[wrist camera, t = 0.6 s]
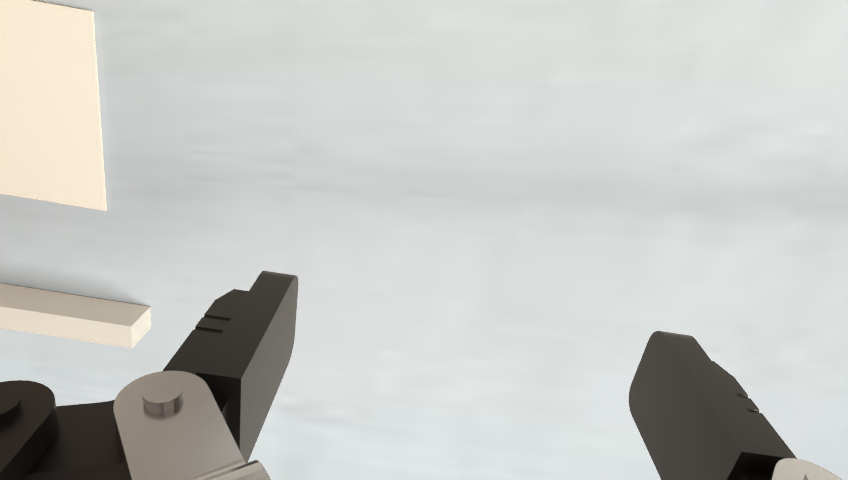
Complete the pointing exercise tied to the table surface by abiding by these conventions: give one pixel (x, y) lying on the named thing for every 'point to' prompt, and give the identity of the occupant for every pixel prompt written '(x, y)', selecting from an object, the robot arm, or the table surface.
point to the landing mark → (50, 105)
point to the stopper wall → (72, 316)
